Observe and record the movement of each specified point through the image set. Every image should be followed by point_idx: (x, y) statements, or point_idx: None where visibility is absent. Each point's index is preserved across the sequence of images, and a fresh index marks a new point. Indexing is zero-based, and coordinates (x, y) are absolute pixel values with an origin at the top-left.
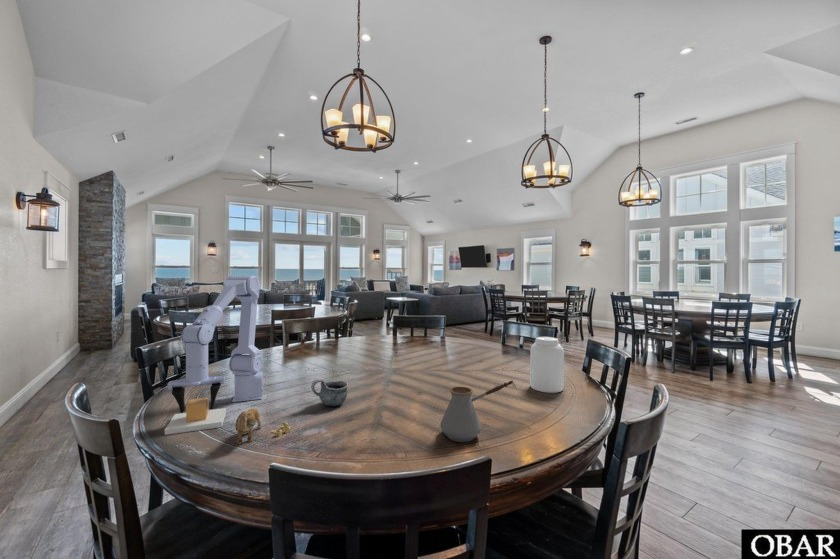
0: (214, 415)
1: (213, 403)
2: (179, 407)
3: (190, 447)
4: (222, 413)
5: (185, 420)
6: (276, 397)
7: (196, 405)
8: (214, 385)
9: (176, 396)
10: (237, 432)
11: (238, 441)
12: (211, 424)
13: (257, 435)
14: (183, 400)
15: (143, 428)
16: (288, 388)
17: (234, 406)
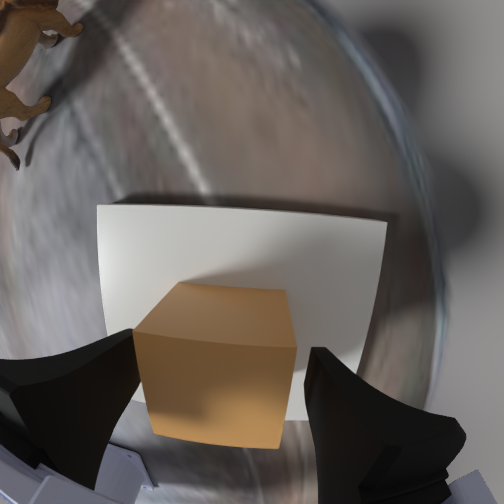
0: None
1: (102, 339)
2: (343, 364)
3: (233, 20)
4: None
5: (292, 322)
6: None
7: (210, 334)
8: (19, 435)
9: (404, 415)
10: (60, 14)
11: (76, 26)
12: (144, 205)
13: (28, 82)
14: (321, 427)
15: (439, 340)
16: None
17: (120, 422)
